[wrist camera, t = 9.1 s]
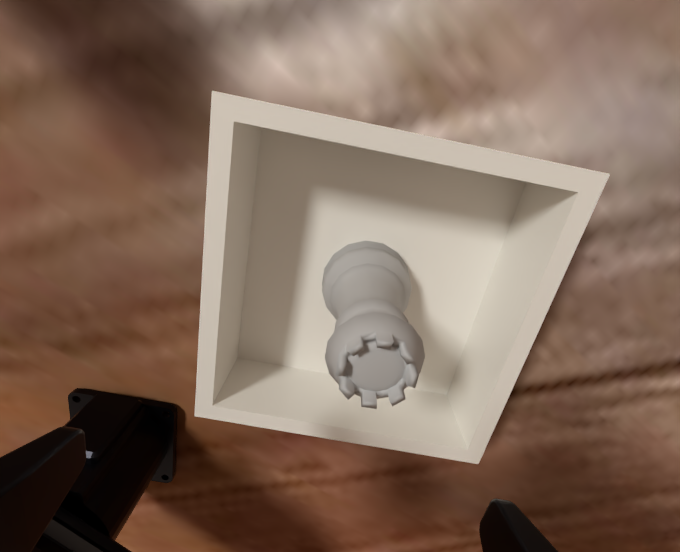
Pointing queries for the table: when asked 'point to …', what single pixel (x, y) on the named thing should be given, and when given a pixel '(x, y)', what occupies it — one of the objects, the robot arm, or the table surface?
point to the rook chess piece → (371, 324)
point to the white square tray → (400, 235)
